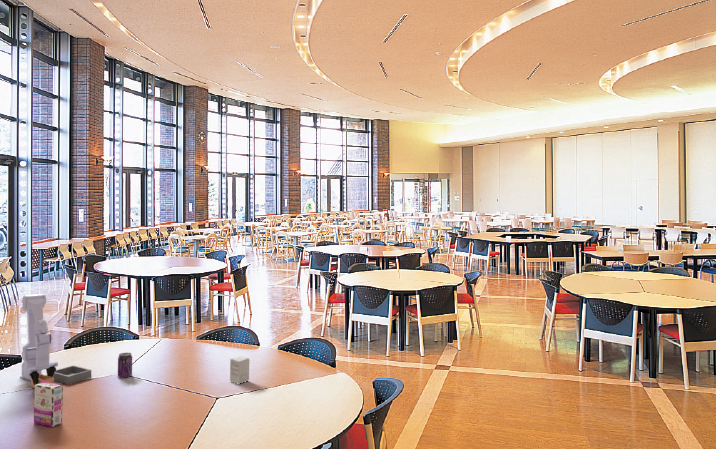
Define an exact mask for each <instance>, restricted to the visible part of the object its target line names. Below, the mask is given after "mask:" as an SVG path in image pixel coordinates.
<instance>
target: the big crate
mask: <svg viewBox="0 0 716 449" xmlns="http://www.w3.org/2000/svg"><path fill="white" fill-rule="evenodd" d="M53 377H54V382H59V383H62V384H66V385H70V384H74V383H77V382H80V381H83V380H87V379H90V378H92V369H90V368H85V367H82V366H77V365H69V366H65V367H63V368H59V369H56V371H55V372H54V374H53Z"/></svg>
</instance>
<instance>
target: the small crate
mask: <svg viewBox="0 0 716 449" xmlns="http://www.w3.org/2000/svg"><path fill="white" fill-rule="evenodd" d="M42 382H48V383H53V384H55V381H54V377H51V376H47V374H43V373H42V374H40V375H39V378H38V384H39V383H42ZM30 387H31V388H34V384H33V380H32V378H31V380H30Z"/></svg>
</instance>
